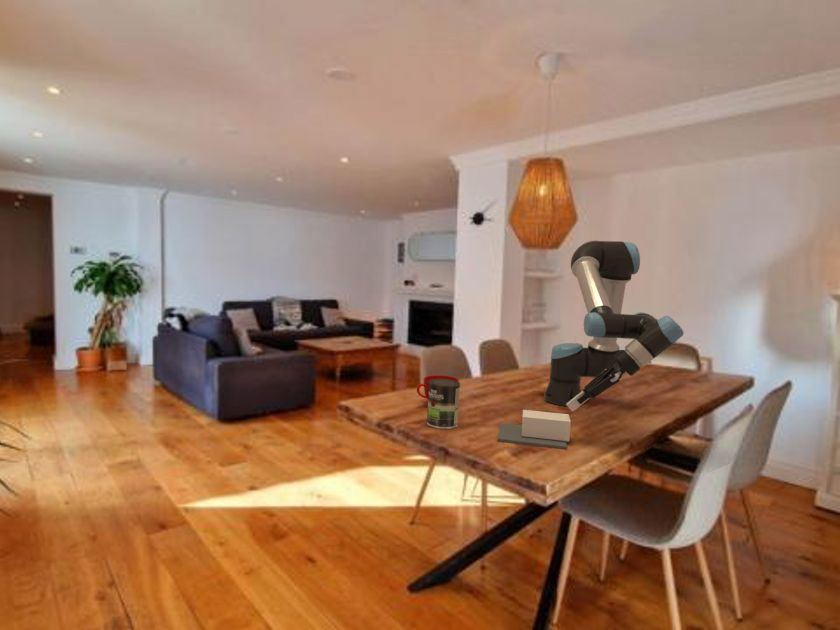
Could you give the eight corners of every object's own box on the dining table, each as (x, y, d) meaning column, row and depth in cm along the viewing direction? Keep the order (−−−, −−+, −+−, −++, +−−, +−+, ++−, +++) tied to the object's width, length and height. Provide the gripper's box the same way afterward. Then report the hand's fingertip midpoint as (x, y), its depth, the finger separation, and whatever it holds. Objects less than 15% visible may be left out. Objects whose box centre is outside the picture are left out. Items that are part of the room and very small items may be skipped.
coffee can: (443, 431, 152) (445, 387, 151) (420, 423, 159) (422, 381, 158) (464, 425, 159) (466, 383, 158) (441, 417, 167) (443, 377, 165)
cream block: (568, 414, 152) (522, 409, 155) (570, 421, 144) (522, 416, 147) (567, 433, 152) (521, 428, 155) (569, 442, 145) (521, 437, 148)
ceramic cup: (407, 403, 182) (408, 377, 181) (444, 399, 191) (445, 374, 190) (425, 413, 171) (427, 385, 170) (464, 407, 180) (465, 381, 179)
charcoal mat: (497, 441, 145) (497, 438, 145) (500, 425, 161) (500, 422, 161) (567, 449, 141) (567, 446, 141) (563, 432, 157) (563, 429, 156)
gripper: (646, 372, 136) (580, 423, 141) (636, 363, 149) (575, 411, 154) (627, 351, 137) (562, 403, 142) (619, 345, 149) (559, 393, 154)
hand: (569, 407), depth 148 cm, fingers closed
